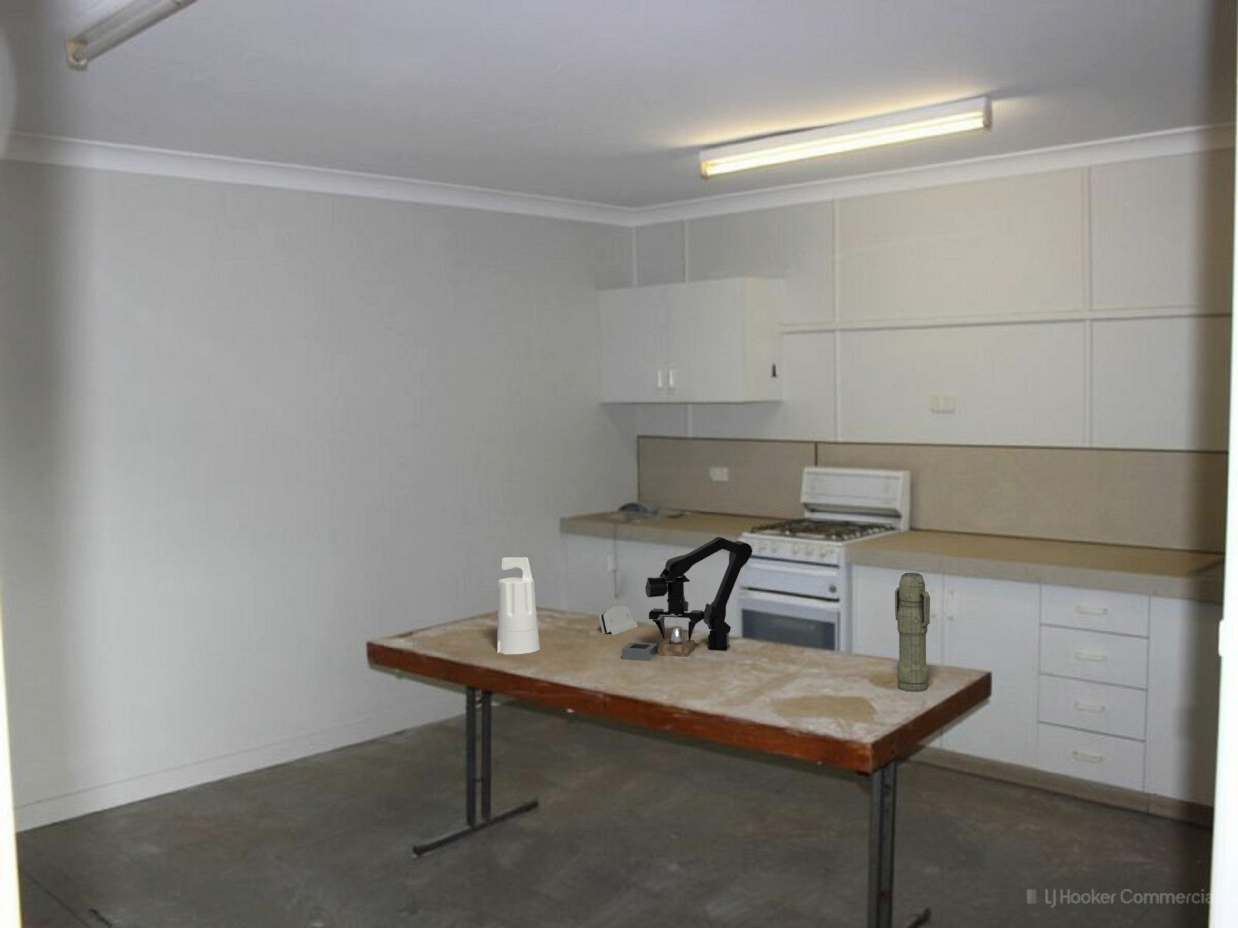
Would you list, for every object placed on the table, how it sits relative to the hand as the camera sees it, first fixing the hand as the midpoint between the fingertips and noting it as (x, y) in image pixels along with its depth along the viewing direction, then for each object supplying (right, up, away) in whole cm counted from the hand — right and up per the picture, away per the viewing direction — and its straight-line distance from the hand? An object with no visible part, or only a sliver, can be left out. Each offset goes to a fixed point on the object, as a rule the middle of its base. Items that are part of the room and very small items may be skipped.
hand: (676, 639), depth 392 cm
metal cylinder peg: (0, -5, 0) cm, 5 cm away
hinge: (-21, -3, +38) cm, 44 cm away
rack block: (-13, -5, -4) cm, 14 cm away
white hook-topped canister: (-56, -6, +11) cm, 58 cm away
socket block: (0, -5, 0) cm, 5 cm away
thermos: (+69, -7, -51) cm, 86 cm away
